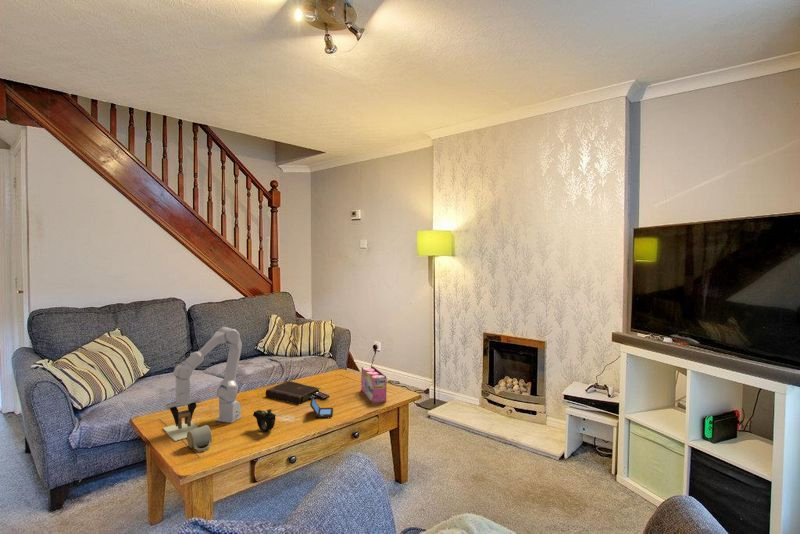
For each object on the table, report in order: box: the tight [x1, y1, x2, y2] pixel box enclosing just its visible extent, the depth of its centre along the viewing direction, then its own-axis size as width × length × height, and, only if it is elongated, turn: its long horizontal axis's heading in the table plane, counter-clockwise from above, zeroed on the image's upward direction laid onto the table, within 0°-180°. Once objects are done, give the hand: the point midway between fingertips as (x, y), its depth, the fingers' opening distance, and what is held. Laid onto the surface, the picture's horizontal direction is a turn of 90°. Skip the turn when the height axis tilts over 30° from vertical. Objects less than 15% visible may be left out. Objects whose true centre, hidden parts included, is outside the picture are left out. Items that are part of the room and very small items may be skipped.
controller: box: [252, 409, 277, 433], centre depth 196 cm, size 4×12×10 cm, turn 56°
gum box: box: [360, 366, 387, 403], centre depth 244 cm, size 24×8×14 cm, turn 22°
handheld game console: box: [309, 397, 334, 419], centre depth 216 cm, size 12×11×7 cm
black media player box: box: [265, 380, 322, 405], centre depth 243 cm, size 19×25×5 cm
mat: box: [162, 420, 200, 442], centre depth 195 cm, size 18×12×1 cm, turn 43°
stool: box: [175, 409, 192, 429], centre depth 195 cm, size 5×5×6 cm
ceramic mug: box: [186, 424, 213, 452], centre depth 180 cm, size 11×8×8 cm
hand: (183, 421), depth 195 cm, fingers closed on stool, 5 cm apart
